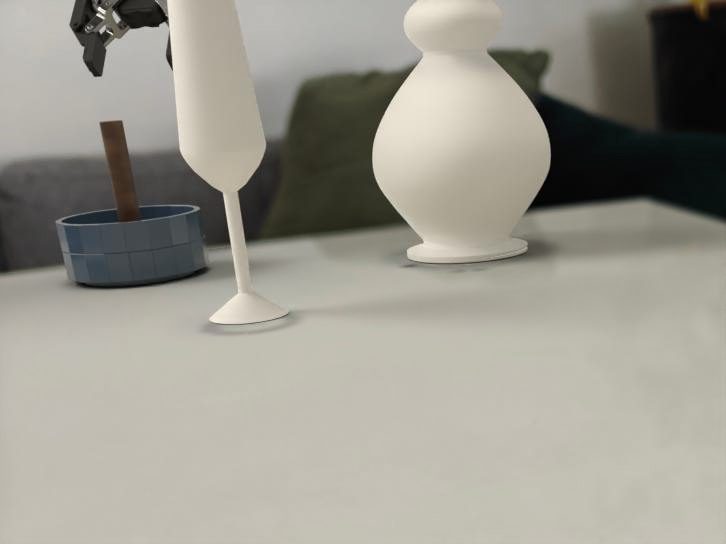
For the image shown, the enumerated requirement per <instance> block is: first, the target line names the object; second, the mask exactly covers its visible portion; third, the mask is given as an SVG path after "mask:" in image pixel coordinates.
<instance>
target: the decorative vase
mask: <svg viewBox="0 0 726 544" xmlns="http://www.w3.org/2000/svg"><path fill="white" fill-rule="evenodd" d="M503 24H504V18H503V13H502V11H501V9H500V7H499V6H498V5H497V3H495V2H494V0H415V1H414V3H413V4H412V5H411V6H410V7H409V8H408V10H407V12H406V13H405V15H404V19H403V31H404V34H405V36H406V38H407V39H408V40H409V41H410V42H411V44H413V45H414V47H416V48H417V49H418V50H419V51H421V52H422V58H421V60H419V62H418V63H417V65H416V66H415V67H414V68H413V69H412V71H411V72H410V74H409V75H408V77H407V78H406V79H405V80H404V82H403V83H402V84H401V86H400V87H399V89H398V90H397V92H396V93H395V95H394V96H393V98H391V100H390V103H389V105H388V106H387V108H386V110H385V112H384V115H383V116H382V118H381V120H380V122H379V125H378V127H377V130H376V132H375V136H374V140H373V144H372V154H371V155H372V160H371V161H372V171H373V174H374V179H375V181H376V183H377V186H378V187H379V189H380V191H381V192H382V194H383V195H384V196H385V197H386V199H387V200H388V201H389V203H390V204H391V206H392V207H393V208H394V209H395V210H396V212H397V213H398V214H399V215H400V216H401V217H402V219H403V220H404V221H405V222H407V224H408V225H409V226H410V227H411V228H412V230H413V231H414V232H415V233H416V234H417V235H418V236H419V237H420V238H421V240H422V241H423V242H422V243H418V244H414V245H413V246H410V247H408V248H407V250H406V257H407V259H408V260H411V261H414V262H418V263H426V264H427V263H428V264H464V263H465V264H467V263H477V262H478V263H479V262H488V261H495V260H502V259H507V258H511V257H515V256H519V255H521V254H524V253H526V252H527V251H528V249H529V244H528V241H526V240H524V239H521V238H518V237H511V235H510V234H511V233H512V232H513V231H514V230H515V228H516V226H517V225H518V223H519V222H520V221H521V219H522V218H523V216H524V215H525V213H526V212H527V210H528V209H529V207H530V206H531V204H532V203H533V201H534V199H535V198H536V197H537V195H538V193H539V191H540V190H541V189H542V186H543V185H544V182H545V181H546V179H547V176H548V174H549V171H550V168H551V157H552V153H551V151H552V150H551V143H550V137H549V133H548V130H547V128H546V125H545V123H544V120H543V119H542V117H541V115H540V113H539V112H538V110H537V109H536V107H535V105H534V103H533V102H532V100H530V98H529V97H528V95H527V94H526V93H525V91H524V90H523V89H522V88H521V86H520V85H519V84H518V83H517V82H516V81H515V80H514V79H513V77H512V76H511V75H509V73H508V72H506V70H505V69H504V68H503V67H502V66H501V65H500V64H499V63H498V62H497V61H496V60H495V59H494V58H493V57H492V56H491V55H490V53H488V48H489V46H490V45H491V44H492V43H493V42H494V41H495V40H496V38H497V37H498V36H499V34H500V32H501V30H502V28H503ZM527 245H528V247H527ZM525 247H527V249H525V250H523V251H521V252H518V253H514V254H510V255H505V254H509V253H513V252H516V251H519V250H522V249H523V248H525ZM500 255H505V256H500ZM495 256H500V257H495ZM491 257H493V258H491ZM484 258H485V259H484Z"/></svg>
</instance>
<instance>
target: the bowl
mask: <svg viewBox="0 0 726 544" xmlns="http://www.w3.org/2000/svg"><path fill="white" fill-rule="evenodd" d="M139 211H140V216H141V220H140V221H130V222H120V223H119V219H118V214H117V209H116V208H109V209H103V210H102V209H101V210H95V211H89V212H83V213H78V214H77V213H76V214H72V215H68V216H64V217H60V218H59V219H57V220H55V227H56V231H57V235H58V240H59V245H60V249H61V253H62V257H63V261H64V262H63V263H64V267H65V271H66V276H67V279H68V280H70V281H73V282H76V283H83V285H87V286H90V287H129V286H130V287H131V286H140V285H148V284H156V283H162V282H168V281H173V280H178V279H181V278H185V277H188V276H190V275H193V274H195V273H196V272H197V271H198V270H200V269H201V270H202V269H203V268H205V267H207V266H208V265H209V264H210V257H209V251H208V250H209V249H208V244H207V238H206V233H205V228H204V227H205V226H204V220H203V213H202V209H201V207H199V206H197V205H192V204H155V205H139Z"/></svg>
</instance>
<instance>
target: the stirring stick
mask: <svg viewBox="0 0 726 544" xmlns="http://www.w3.org/2000/svg"><path fill="white" fill-rule="evenodd" d="M99 128H100V133H101V138H102V143H103V149H104V155H105V158H106V164H107V169H108V174H109V178H110V183H111V189H112V194H113V198H114V205H115V209H117V214H118V219H119V223H120V222H130V221H140V220H141V216H140V211H139V206H140V205H139V201H138V196H137V195H138V194H137V191H136V185H135V179H134V174H133V169H132V164H131V159H130V154H129V147H128V144H127V143H128V141H127V137H126V132H125V127H124V121H123V120H122V119H116V120H104V121H99Z"/></svg>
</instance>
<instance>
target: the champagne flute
mask: <svg viewBox="0 0 726 544" xmlns="http://www.w3.org/2000/svg"><path fill="white" fill-rule="evenodd" d="M167 4H168V16H169V27H168V28H169V30H170V40H171V52H172V63H173V71H172V72H173V85H174V97H175V109H176V111H175V112H176V121H177V133H178V144H179V145H178V146H179V151H180V154H181V156H182V158H183V159H184V161H185V162H186V164H187V165H189V168H190V169H191V170H192V171H193V172H194V173H195V174H197V175H198V176H199V177H200V178H201V179H202V180H203V181H205V182H206V183H207V184H208V185H210V186H211V187H212V188H214V189H216V190H218V191H219V192H221V193H222V196H223V197H222V198H223V202H224V209H225V215H226V222H227V228H228V235H229V241H230V246H231V253H232V261H233V266H234V272H235V278H236V285H237V293H236V294H235V295H234V296H233V297H232V298H230V300H228V301H226V303H225V304H224V305H222V306H221V307H220V308H219V309H218V310H217V311H215V312H214V313H213V314H212V315H211V316H209V318H208V320H209V322H211V323H214V324H222V325H240V324H241V325H243V324H244V325H245V324H255V323H262V322H266V321H271V320H275V319H278V318H282V317H284V316H286V315H288V314H289V312H290V310H289V309H287V308H285V307H283V306H281V305H280V304H278V303H276V302H274V301H272V300H270V299H268V298H266V297H265V296H263V295H261V294H259V293H258V292H255V291H254V290H253V284H252V278H251V271H250V264H249V258H248V251H247V245H246V238H245V237H246V236H245V232H244V223H243V218H242V212H241V205H240V198H239V192H238V191H240V190H241V189H242V188H243V187H244V186H245V185H247V183H248V182H249V181H250V179H251V178H252V176H253V175H254V173H255V172H256V171H257V169H258V168H259V167H260V164H261V162H262V160H263V158H264V155H265V153H266V149H267V141H266V136H265V132H264V128H263V122H262V118H261V114H260V109H259V105H258V100H257V97H256V92H255V87H254V82H253V79H252V74H251V68H250V65H249V59H248V55H247V51H246V45H245V42H244V38H243V33H242V29H241V25H240V20H239V15H238V10H237V5H236V2H235V0H167Z"/></svg>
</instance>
